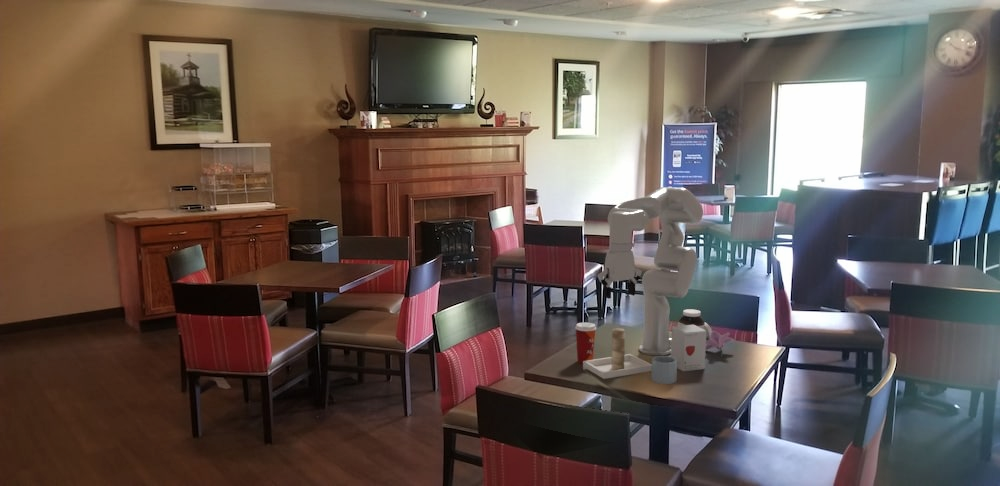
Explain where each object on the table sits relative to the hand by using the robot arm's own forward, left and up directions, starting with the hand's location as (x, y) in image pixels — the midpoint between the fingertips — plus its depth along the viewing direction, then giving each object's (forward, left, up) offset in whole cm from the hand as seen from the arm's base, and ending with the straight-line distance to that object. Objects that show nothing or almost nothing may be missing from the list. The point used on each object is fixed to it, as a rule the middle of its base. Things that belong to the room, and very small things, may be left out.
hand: (619, 296), depth 253 cm
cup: (-8, +16, -27) cm, 33 cm away
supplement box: (-24, +8, -27) cm, 37 cm away
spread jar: (-50, -20, -27) cm, 61 cm away
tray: (0, 0, -27) cm, 27 cm away
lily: (-45, -2, -27) cm, 53 cm away
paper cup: (+5, -14, -27) cm, 31 cm away
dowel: (0, 0, -26) cm, 26 cm away
